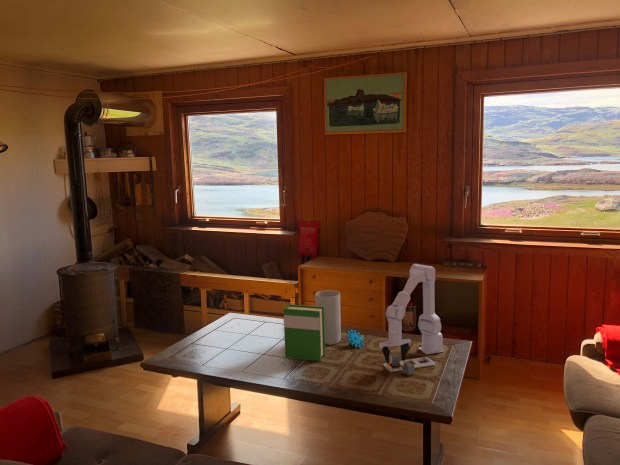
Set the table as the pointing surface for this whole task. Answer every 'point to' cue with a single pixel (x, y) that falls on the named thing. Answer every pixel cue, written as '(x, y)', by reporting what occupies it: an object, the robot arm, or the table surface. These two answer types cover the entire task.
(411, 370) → the grey wood-grain cube
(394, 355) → the dark square post
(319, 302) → the cylinder vase
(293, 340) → the hardback book
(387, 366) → the square hole plate
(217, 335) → the table surface
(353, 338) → the gear
